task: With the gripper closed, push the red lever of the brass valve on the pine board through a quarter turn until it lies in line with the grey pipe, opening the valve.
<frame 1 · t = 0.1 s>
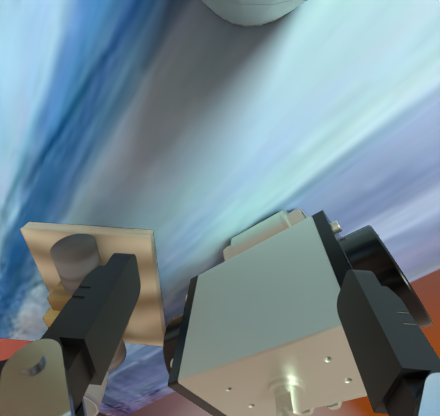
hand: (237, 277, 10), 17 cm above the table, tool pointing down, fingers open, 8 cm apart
lever: (10, 357, 29), point 10 cm above the table, hinge at -90.0°
teacup: (86, 359, 48), on the table
valve fixture: (107, 287, 37), on the table
ball valve: (269, 233, 31), on the table
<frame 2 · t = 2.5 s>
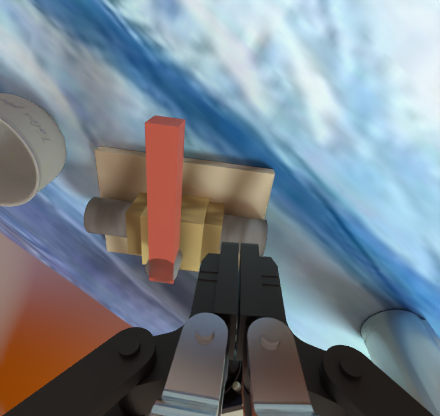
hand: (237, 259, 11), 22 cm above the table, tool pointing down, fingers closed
lever: (165, 209, 24), point 10 cm above the table, hinge at -90.0°
teacup: (23, 131, 32), on the table
valve fixture: (183, 211, 36), on the table
ball valve: (241, 322, 47), on the table
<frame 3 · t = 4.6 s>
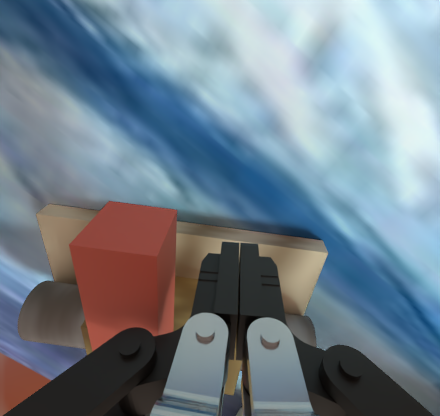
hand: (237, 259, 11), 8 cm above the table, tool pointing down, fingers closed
lever: (140, 367, 12), point 10 cm above the table, hinge at -89.9°, touching gripper
valve fixture: (181, 291, 24), on the table
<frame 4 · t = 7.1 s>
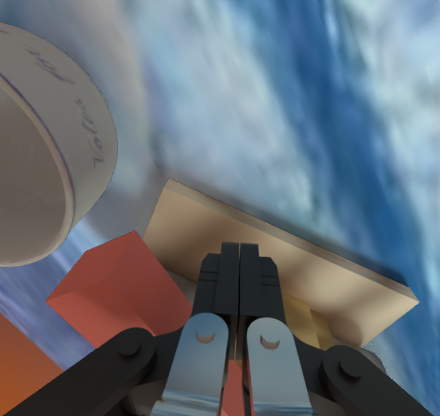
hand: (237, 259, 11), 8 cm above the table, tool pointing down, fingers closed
lever: (202, 384, 12), point 10 cm above the table, hinge at -37.9°, touching gripper
teacup: (33, 107, 17), on the table
valve fixture: (250, 298, 24), on the table
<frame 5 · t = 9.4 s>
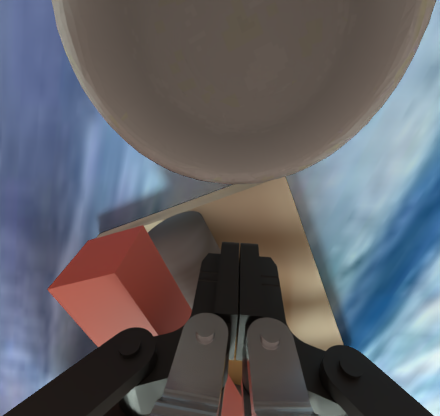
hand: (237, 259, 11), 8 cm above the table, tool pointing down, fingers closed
lever: (189, 382, 12), point 10 cm above the table, hinge at -4.0°, touching gripper
valve fixture: (235, 300, 24), on the table
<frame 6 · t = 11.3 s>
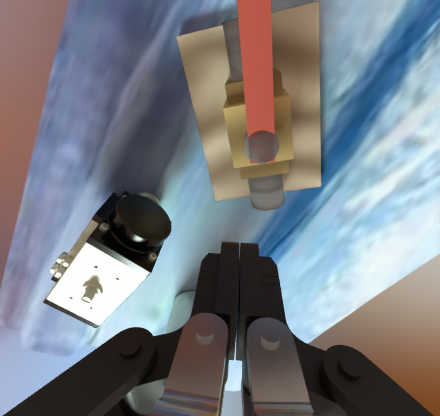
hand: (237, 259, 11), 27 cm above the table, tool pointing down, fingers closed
lever: (257, 72, 23), point 10 cm above the table, hinge at -4.0°
valve fixture: (256, 117, 35), on the table
ball valve: (136, 209, 44), on the table
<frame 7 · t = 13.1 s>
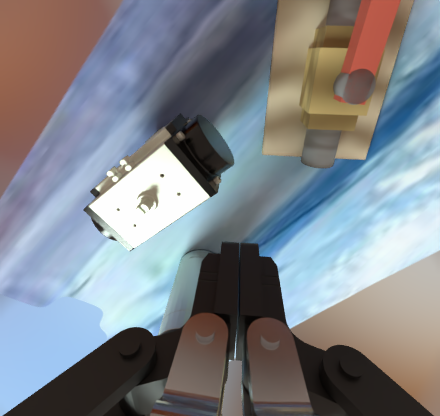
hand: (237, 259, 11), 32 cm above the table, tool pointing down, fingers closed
lever: (377, 10, 24), point 10 cm above the table, hinge at -4.0°
valve fixture: (326, 78, 36), on the table
ball valve: (176, 150, 43), on the table
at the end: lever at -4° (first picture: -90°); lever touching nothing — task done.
